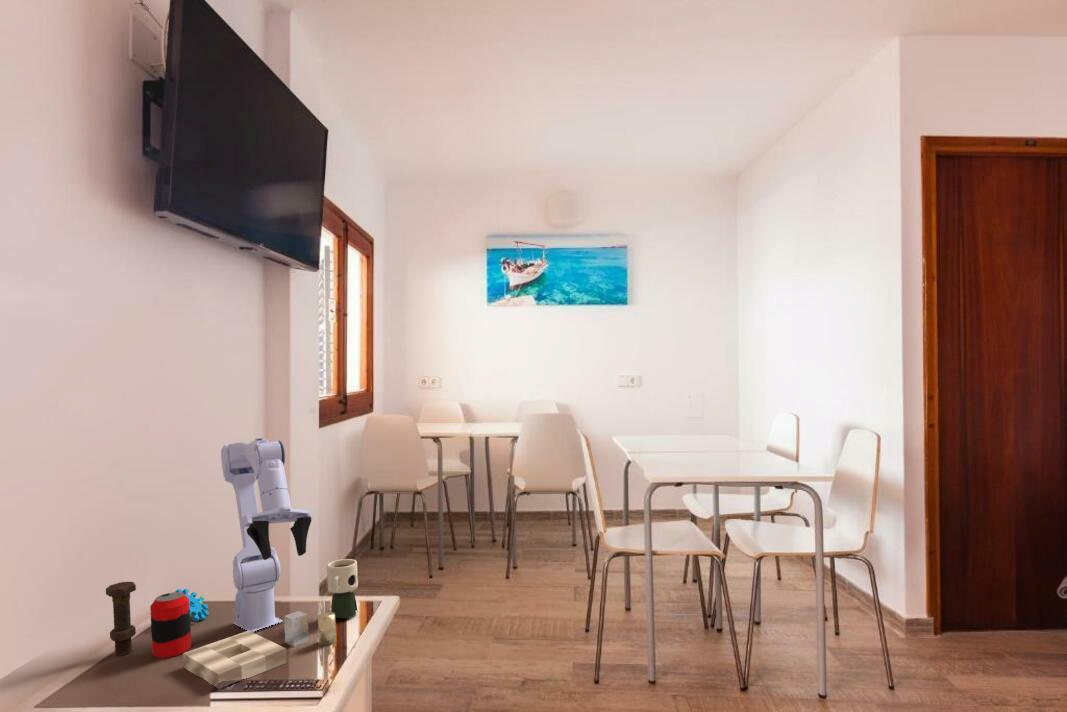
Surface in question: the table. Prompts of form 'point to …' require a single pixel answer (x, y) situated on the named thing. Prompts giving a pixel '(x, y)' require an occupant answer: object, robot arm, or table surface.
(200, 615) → the gear
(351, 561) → the character mug
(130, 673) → the table surface
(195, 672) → the socket plate
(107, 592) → the bolt
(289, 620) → the square bit
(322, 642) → the round bit
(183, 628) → the soda can
